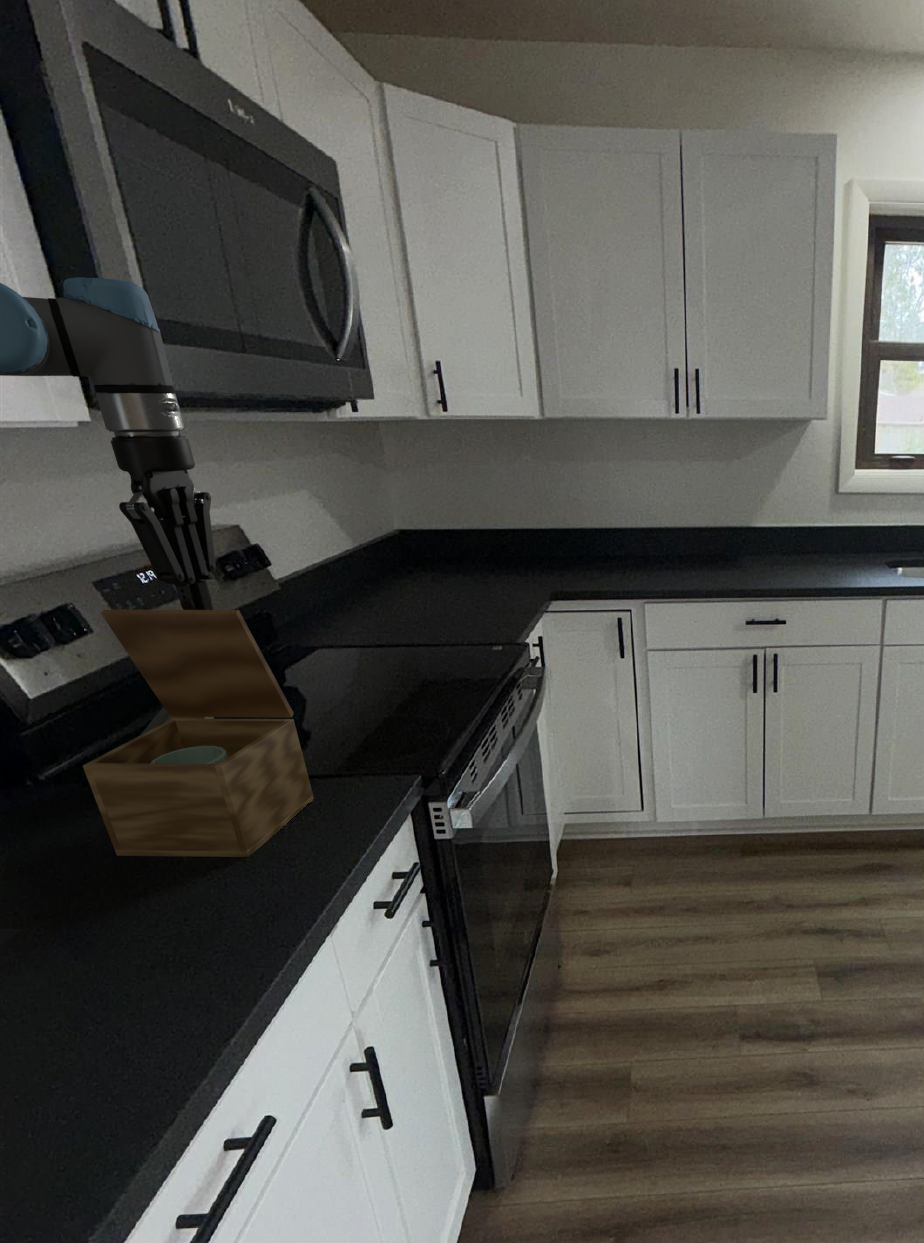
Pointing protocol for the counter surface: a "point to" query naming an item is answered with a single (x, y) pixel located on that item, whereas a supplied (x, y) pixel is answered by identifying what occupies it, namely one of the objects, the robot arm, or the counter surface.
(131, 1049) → the counter surface
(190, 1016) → the counter surface
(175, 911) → the counter surface
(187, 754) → the cup
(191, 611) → the lid
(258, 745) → the chest
